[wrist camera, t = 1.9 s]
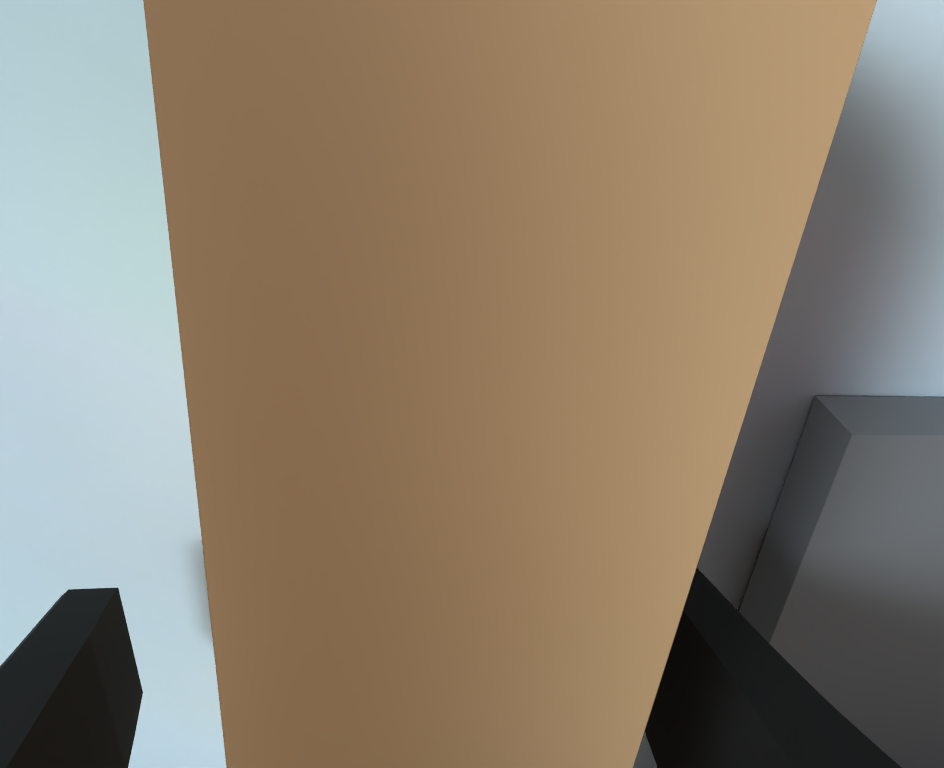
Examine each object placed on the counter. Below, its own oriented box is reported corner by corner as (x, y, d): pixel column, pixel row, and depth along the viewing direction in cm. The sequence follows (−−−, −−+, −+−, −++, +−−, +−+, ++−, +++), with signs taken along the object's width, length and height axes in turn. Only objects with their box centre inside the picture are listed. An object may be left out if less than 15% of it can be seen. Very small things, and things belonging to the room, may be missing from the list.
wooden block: (567, -127, 8) (943, -212, 3) (440, 859, 17) (473, 1268, 12) (284, -162, 7) (107, -333, 2) (309, 868, 16) (283, 1296, 11)
